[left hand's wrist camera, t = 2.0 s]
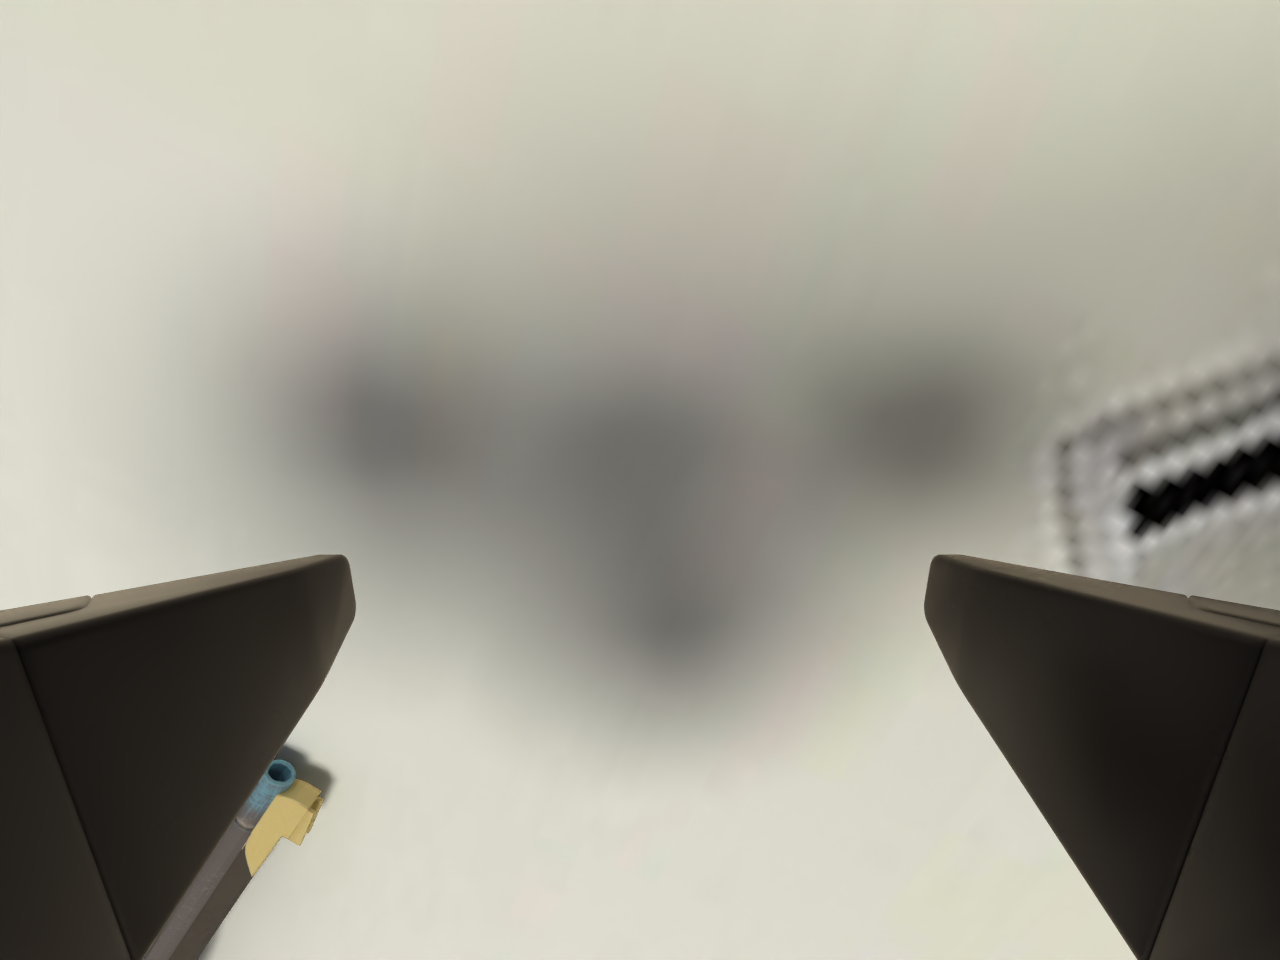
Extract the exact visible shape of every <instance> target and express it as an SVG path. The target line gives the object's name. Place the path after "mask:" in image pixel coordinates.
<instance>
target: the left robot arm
mask: <svg viewBox="0 0 1280 960" xmlns="http://www.w3.org/2000/svg"><path fill="white" fill-rule="evenodd" d="M355 611H356V602H355V595H354V589H353V583H352V577H351V571H350V565H349V562H348V560H347V558H346V557H345V556H343V555H315V556H309V557H304V558H298V559H293V560H287V561H282V562H276V563H271V564H265V565H259V566H254V567H248V568H243V569H237V570H232V571H226V572H221V573H215V574H209V575H204V576H198V577H193V578H187V579H182V580H176V581H171V582H165V583H160V584H154V585H148V586H143V587H137V588H132V589H126V590H121V591H115V592H110V593H104V594H98V595H94V596H93V597H92V599H91V597H90V596H82V597H76V598H71V599H65V600H59V601H53V602H48V603H42V604H36V605H30V606H25V607H19V608H13V609H7V610H1V611H0V960H143V958H144V957H145V955H146V954H147V952H148V951H149V949H150V948H151V946H152V945H153V943H154V941H155V940H156V938H157V937H158V935H159V934H160V932H161V931H162V929H163V928H164V926H165V925H166V923H167V922H168V920H169V919H170V917H171V915H172V914H173V912H174V911H175V909H176V908H177V906H178V905H179V903H180V902H181V900H182V899H183V897H184V896H185V894H186V893H187V891H188V890H189V888H190V886H191V885H192V883H193V882H194V880H195V879H196V877H197V876H198V874H199V873H200V871H201V870H202V868H203V867H204V865H205V864H206V862H207V861H208V859H209V857H210V856H211V854H212V853H213V851H214V850H215V848H216V847H217V845H218V844H219V842H220V841H221V839H222V838H223V836H224V835H225V833H226V831H227V830H228V828H229V827H230V825H231V824H232V822H233V821H234V819H235V818H236V816H237V815H238V813H239V812H240V810H241V809H242V807H243V806H244V804H245V802H246V801H247V799H248V798H249V796H250V795H251V793H252V792H253V790H254V789H255V787H256V786H257V784H258V783H259V781H260V780H261V778H262V777H263V775H264V773H265V772H266V770H267V769H268V767H269V766H270V764H271V763H272V761H273V760H274V758H275V757H276V755H277V754H278V752H279V751H280V749H281V747H282V746H283V744H284V743H285V741H286V740H287V738H288V737H289V735H290V734H291V732H292V731H293V729H294V728H295V726H296V725H297V723H298V722H299V720H300V718H301V717H302V715H303V714H304V712H305V711H306V709H307V708H308V706H309V705H310V703H311V702H312V700H313V699H314V697H315V695H316V694H317V692H318V691H319V689H320V687H321V686H322V684H323V682H324V680H325V678H326V676H327V674H328V672H329V670H330V668H331V666H332V664H333V662H334V660H335V658H336V656H337V654H338V652H339V650H340V647H341V645H342V643H343V641H344V639H345V637H346V635H347V633H348V631H349V629H350V627H351V624H352V622H353V620H354V617H355ZM924 611H925V617H926V620H927V622H928V624H929V627H930V629H931V631H932V633H933V635H934V637H935V639H936V641H937V643H938V645H939V647H940V650H941V652H942V654H943V656H944V658H945V660H946V662H947V664H948V666H949V668H950V670H951V672H952V674H953V676H954V678H955V680H956V682H957V684H958V686H959V687H960V689H961V691H962V692H963V694H964V695H965V697H966V699H967V700H968V702H969V703H970V705H971V706H972V708H973V709H974V711H975V712H976V714H977V715H978V717H979V718H980V720H981V722H982V723H983V725H984V726H985V728H986V729H987V731H988V732H989V734H990V735H991V737H992V738H993V740H994V741H995V743H996V744H997V746H998V747H999V749H1000V750H1001V752H1002V754H1003V755H1004V757H1005V758H1006V760H1007V761H1008V763H1009V764H1010V766H1011V767H1012V769H1013V770H1014V772H1015V773H1016V775H1017V776H1018V778H1019V779H1020V781H1021V783H1022V784H1023V786H1024V787H1025V789H1026V790H1027V792H1028V793H1029V795H1030V796H1031V798H1032V799H1033V801H1034V802H1035V804H1036V805H1037V807H1038V808H1039V810H1040V812H1041V813H1042V815H1043V816H1044V818H1045V819H1046V821H1047V822H1048V824H1049V825H1050V827H1051V828H1052V830H1053V831H1054V833H1055V834H1056V836H1057V838H1058V839H1059V841H1060V842H1061V844H1062V845H1063V847H1064V848H1065V850H1066V851H1067V853H1068V854H1069V856H1070V857H1071V859H1072V860H1073V862H1074V863H1075V865H1076V867H1077V868H1078V870H1079V871H1080V873H1081V874H1082V876H1083V877H1084V879H1085V880H1086V882H1087V883H1088V885H1089V886H1090V888H1091V889H1092V891H1093V893H1094V894H1095V896H1096V897H1097V899H1098V900H1099V902H1100V903H1101V905H1102V906H1103V908H1104V909H1105V911H1106V912H1107V914H1108V915H1109V917H1110V919H1111V920H1112V922H1113V923H1114V925H1115V926H1116V928H1117V929H1118V931H1119V932H1120V934H1121V935H1122V937H1123V938H1124V940H1125V941H1126V943H1127V945H1128V946H1129V948H1130V949H1131V951H1132V952H1133V954H1134V955H1135V957H1136V958H1137V960H1280V611H1279V610H1273V609H1267V608H1261V607H1255V606H1250V605H1244V604H1238V603H1232V602H1227V601H1221V600H1215V599H1209V598H1204V597H1198V596H1190V597H1189V598H1188V597H1187V596H1186V595H1182V594H1177V593H1171V592H1166V591H1160V590H1154V589H1149V588H1143V587H1138V586H1132V585H1127V584H1121V583H1115V582H1110V581H1104V580H1099V579H1093V578H1088V577H1082V576H1076V575H1071V574H1065V573H1060V572H1054V571H1049V570H1043V569H1037V568H1032V567H1026V566H1021V565H1015V564H1010V563H1004V562H999V561H993V560H987V559H982V558H976V557H971V556H965V555H937V556H935V557H934V558H933V560H932V562H931V565H930V571H929V577H928V583H927V589H926V595H925V602H924Z"/></svg>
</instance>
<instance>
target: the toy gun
mask: <svg viewBox="0 0 1280 960" xmlns="http://www.w3.org/2000/svg"><path fill="white" fill-rule="evenodd" d="M295 777H296V771H295V769H294V767H293V765H291V764H290V763H289V762H287V761H284V760H282V759H281V760H273V761H272V763H271V764H270V766H269V767H268V769H267V770H266V772H265V773H264V775H263V777H262V778H261V780H260V781H259V783H258V784H257V786H256V787H255V789H254V790H253V792H252V793H251V795H250V796H249V798H248V799H247V801H246V802H245V804H244V806H243V807H242V809H241V810H240V812H239V813H238V815H237V816H236V818H235V819H234V821H233V822H232V824H231V825H230V827H229V828H228V830H227V831H226V833H225V835H224V836H223V838H222V839H221V841H220V842H219V844H218V845H217V847H216V848H215V850H214V851H213V853H212V854H211V856H210V857H209V859H208V861H207V862H206V864H205V865H204V867H203V868H202V870H201V871H200V873H199V874H198V876H197V877H196V879H195V880H194V882H193V883H192V885H191V886H190V888H189V890H188V891H187V893H186V894H185V896H184V897H183V899H182V900H181V902H180V903H179V905H178V906H177V908H176V909H175V911H174V912H173V914H172V915H171V917H170V919H169V920H168V922H167V923H166V925H165V926H164V928H163V929H162V931H161V932H160V934H159V935H158V937H157V938H156V940H155V941H154V943H153V945H152V946H151V948H150V949H149V951H148V952H147V954H146V955H145V957H144V958H143V960H197V959H198V957H199V955H200V954H201V952H202V951H203V949H204V948H205V946H206V945H207V943H208V942H209V940H210V939H211V937H212V936H213V935H214V933H215V932H216V930H217V929H218V927H219V926H220V924H221V923H222V921H223V920H224V918H225V917H226V915H227V914H228V913H229V911H230V910H231V908H232V907H233V905H234V904H235V902H236V901H237V899H238V898H239V896H240V895H241V893H242V892H243V890H244V889H245V888H246V886H247V885H248V883H249V882H250V880H251V879H252V877H253V876H254V875H255V873H256V872H257V871H258V869H259V868H260V867H261V865H262V864H263V862H264V861H265V860H266V858H267V857H268V856H269V854H270V853H271V851H272V850H273V849H274V847H275V846H276V844H277V843H278V841H279V840H280V838H281V837H282V836H283V837H285V838H287V839H288V840H290V841H292V842H294V843H296V844H297V845H299V846H300V845H301V843H302V841H303V839H304V837H305V834H306V833H309V832H310V830H311V828H312V826H313V823H314V821H315V819H316V816H317V814H318V812H319V809H320V807H321V805H322V802H323V800H324V799H323V798H321V797H320V796H319V794H320V793H321V791H320V790H319V789H317V788H315V787H314V786H312V785H311V784H309V783H307V782H305V781H302V780H299V779H295Z"/></svg>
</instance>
